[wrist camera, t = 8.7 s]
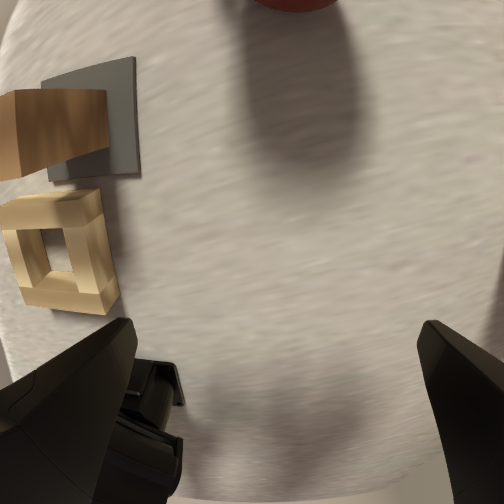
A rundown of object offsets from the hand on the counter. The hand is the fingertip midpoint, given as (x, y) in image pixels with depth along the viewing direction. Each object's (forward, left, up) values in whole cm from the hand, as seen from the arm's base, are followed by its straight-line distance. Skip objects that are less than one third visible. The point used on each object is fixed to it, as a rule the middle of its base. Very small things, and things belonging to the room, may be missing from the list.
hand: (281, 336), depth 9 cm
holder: (-3, +17, -13) cm, 22 cm away
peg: (+7, +13, -12) cm, 19 cm away
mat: (+7, +13, -13) cm, 20 cm away
